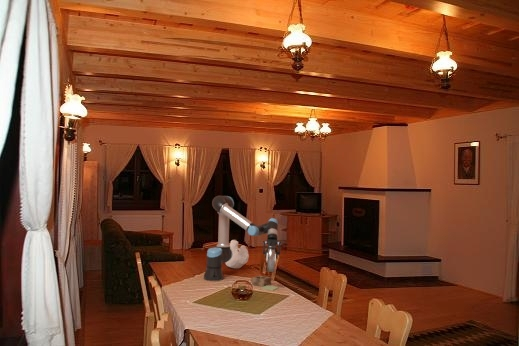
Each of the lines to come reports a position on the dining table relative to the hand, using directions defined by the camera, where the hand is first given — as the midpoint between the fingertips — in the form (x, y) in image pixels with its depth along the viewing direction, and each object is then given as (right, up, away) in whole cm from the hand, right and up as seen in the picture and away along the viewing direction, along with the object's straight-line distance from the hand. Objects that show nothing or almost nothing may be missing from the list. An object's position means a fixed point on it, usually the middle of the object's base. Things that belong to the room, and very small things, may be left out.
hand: (271, 261), depth 290 cm
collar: (-7, -20, +14) cm, 26 cm away
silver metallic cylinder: (0, -8, +3) cm, 8 cm away
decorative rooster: (-29, -23, +74) cm, 82 cm away
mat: (-1, -20, +3) cm, 20 cm away
